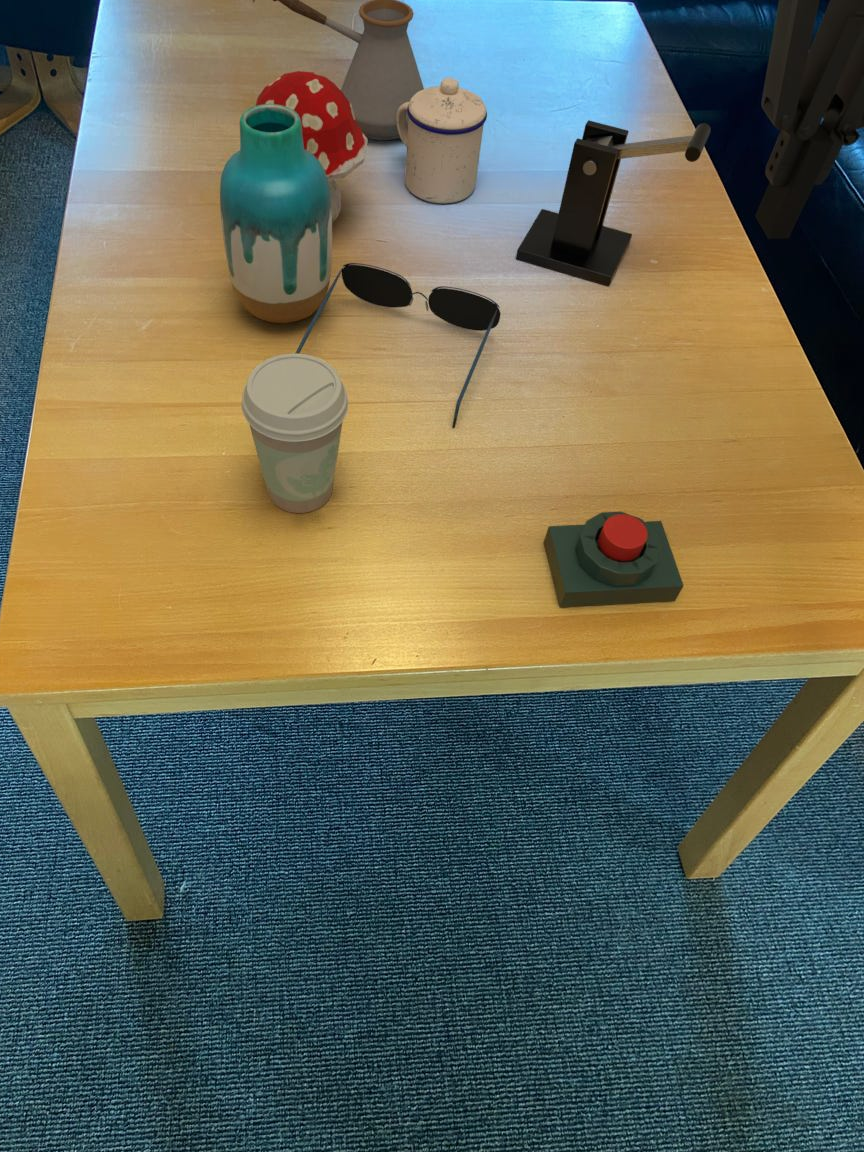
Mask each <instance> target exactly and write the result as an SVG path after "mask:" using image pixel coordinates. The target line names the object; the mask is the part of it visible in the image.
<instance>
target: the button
mask: <svg viewBox="0 0 864 1152" xmlns="http://www.w3.org/2000/svg"><path fill="white" fill-rule="evenodd" d="M630 515H631V514H630ZM630 515H625V514H618V515H614V516H611V517H610V518H608V519H607V520H606V521H605V523H604V525H603V528H602V530H601V533H600V535H599V538H598V544H599V547H600V549H601V551H602V552H603V553H604V554H605V555H606V556H607V557H609V558H611V559H613V560H616V561H622V562H625V561H631V560H633V559H635V558H637V557H638V556H639V554H640V553H641V551H642V549H643V546H644V544H645V542H646V540H647V537H648V533H647V529H646V527H645V526H644V524H643V523H642V522H641V521H640V520H638V519H637V518H635V517H636V516H635V517H633V516H634V515H632V516H630Z"/></svg>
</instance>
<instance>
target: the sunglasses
mask: <svg viewBox="0 0 864 1152" xmlns="http://www.w3.org/2000/svg"><path fill="white" fill-rule="evenodd" d="M340 276H341V279H342V282H343V285H344V287H345V288H346V289H347V290H348V291H349V292H350V293H351V294H352V295H354V296H355V297H357V298H358V299H360V300H362V301H364V302H366V303H369V304H371V305H375V306H380V307H384V308H395V309H396V308H405V307H408V306H409V307H411V305H412V304H413V302H414V297H413V295H416V294H418V295H420V296H422V297H423V298H424V299H425V301H424V302H425V303H424V305H425V309H426V311H427V312H428V311H429V310H430V311H431V313H432V314H433V315H434V316H436V317H437V318H439V319H440V320H443V321H444V322H445V323H448V324H450V325H453V326H454V327H458V328H460V329H461V328H462V329H465V330H469V331H476V332H477V331H478V332H482V331H485V334H484V336H483V338H482V341H481V344H480V345H479V348H478V350H477V352H476V355H475V357H474V360H473V362H472V365H471V366H470V369H469V371H468V374H467V377H466V379H465V381H464V383H463V386H462V388H461V391H460V393H459V396H458V398H457V400H456V404H455V409H454V416H453V422H452V429H454V428H456V425H457V421H458V417H459V413H460V412H459V411H460V407H461V403H462V401H463V398H464V397H465V394H466V392H467V391H466V390H467V389H468V386H469V383H470V382H471V379H472V378H473V377H472V376H473V373H474V371H475V369H476V367H477V364H478V362H479V360H480V357H481V354H482V352H483V349H484V347H485V345H486V343H487V340H488V338H489V335H490V332H491V330H492V329H495V328H497V326H498V325H499V323H500V320H501V310H500V309H501V307H500V305H499V304H498V303H497V302H496V301H495V300H493V299H492V298H490V297H488V296H485V295H483V294H480V293H477V292H476V291H475V292H474V291H471V290H468V289H467V290H466V289H465V288H460V287H453V286H445V285H443V286H442V285H441V286H437V287H435V288H433V289H432V290H430V294H429V295H428V297H427V296H426V295H425V294H424V293H422V292H420V291H415V292H413V290H412V288H411V287H412V285H411V283H410V282H409V281H408V279H406V278H405V277H404V276H403V275H400V274H399V273H396V272H394V271H392V270H389V269H387V268H384V267H380V266H376V265H371V264H367V263H361V262H360V263H359V262H348V263H344V264H343V265H342V267H341V269H340V270H339V272H338V273H337V275H336V276H335V278H334V280H333V282H332V284H331V285H330V287H329V288H328V291H327V294H326V296H325V298H324V300H323V302H322V304H321V305H320V306H319V307H318V309H317V310H316V311H317V312H316V313H315V315H314V317H313V319H312V320H311V322H310V324H309V325H308V328H307V330H306V332H305V334H304V336H302V339H301V341H300V343H299V345H298V347H297V348H296V351H295V353H297V354H301V351H302V349H303V348H304V345H305V343H306V342H307V340H308V338H309V336H310V334H311V332H312V330H313V329H314V327H315V325H316V323H317V321H318V319H319V317H320V315H321V314H322V311H323V310H324V307H325V305H326V304H327V302H328V300H329V298H330V296H331V294H332V292H333V290H334V288H335V286H336V285H337V282H338V280H339V278H340Z"/></svg>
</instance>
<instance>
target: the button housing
mask: <svg viewBox="0 0 864 1152" xmlns="http://www.w3.org/2000/svg"><path fill="white" fill-rule="evenodd" d="M618 514H625V515H630V516H633V517H635V518H637V519H638V520H640V521H641V522H642V523H643V524H644V526H645V527H646V529H647V533H648V537H647V540H646V542H645V544H644V546H643V549H642V551H641V553H640V554H639V556H638V557H637V558H635V559H633V560H631V561H625V562H622V561H616V560H613V559H611V558H609V557H607V556H606V555H605V554H604V553H603V552H602V551H601V549H600V547H599V544H598V538H599V535H600V533H601V530H602V528H603V525H604V523H605V521H606V520H607V519H608V518H610V517H611V516H614V515H618ZM543 546H544V550H545V553H546V557H547V561H548V566H549V569H550V574H551V578H552V582H553V585H554V589H555V593H556V598H557V601H558V606H559V608H576V607H593V606H595V607H596V606H611V605H627V604H629V605H630V604H645V603H647V604H648V603H662V602H676V600H677V599H678V597H679V595H680V594H681V592H682V590H683V588H684V587H685V586H684V582H683V580H682V576H681V574H680V571H679V568H678V565H677V562H676V559H675V556H674V554H673V551H672V548H671V545H670V542H669V539H668V536H667V534H666V531H665V528H664V525H663V522H662V520H647V521H645V520H644V519H642V518H641V517H638V516H635V515H632V514H629V513H626V512H623V511H601V512H600V513H597V514H596V515H595V516H593V517H591V518H589V519H588V520H586V521H585V522H584V524H568V525H566V524H565V525H549V526H548V527H547V530H546V534H545V536H544V539H543Z"/></svg>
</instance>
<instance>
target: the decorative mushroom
mask: <svg viewBox="0 0 864 1152" xmlns="http://www.w3.org/2000/svg"><path fill="white" fill-rule="evenodd" d="M263 104H276V105H282V106H286V107H288V108H290V109H292V110H294V111H295V112H296V113H297V114H298V115H299V117H300V119H301V124H302V136H303V144H304V149H305V150H307V151H308V152H310V153H311V154H313V155H314V156H315V157H316V158H317V159H318V160H319V161H320V163H321V165H322V166H323V168H324V170H325V173H326V176H327V179H328V184H329V190H330V198H331V213H332V224H333V223H334V222H335V221H336V219H337V218H338V217H339V215H340V212H341V206H342V195H341V190H340V187H339V186H338V184H337V182H336V181H335V180H338V179H344V178H345V177H347V176H348V175H350V174H351V173H352V172H353V171H355V170H356V169H358V168H359V167H360V166H361V165H362V164H364V162H365V159H366V156H367V155H366V154H367V148H368V139H369V138H368V137H366V136H365V135H364V134H363V132H362V131H361V129H360V128H359V126H358V125H357V122H356V119H355V115H354V111H353V108H352V105H351V103H350V102H349V101H348V99H347V98H346V96H345V95H344V94H343V93H342V91H341V88H339V87H338V85H336V83H334V82H333V81H332V80H330V79H329V78H328V77H326V76H324V75H321V74H319V73H316V72H313V71H300V70H297V71H291V72H286V73H283V74H282V75H280V76H279V77H277V78H275V79H274V80H273V81H271V82H270V83H269V84H267V85H266V86H264V88H263V89H262V90H261V92H260V94H259V95H258V97H257V99H256V101H255V105H254V106H258V105H263Z"/></svg>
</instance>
